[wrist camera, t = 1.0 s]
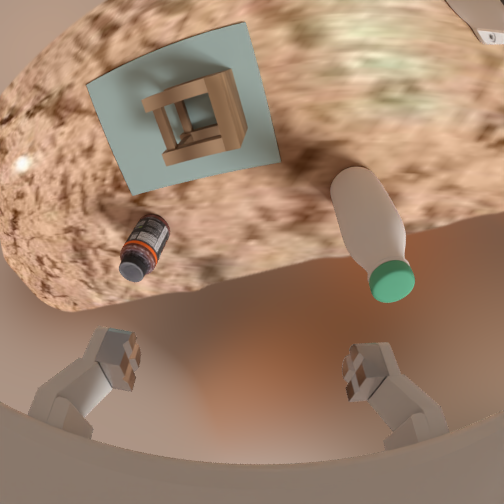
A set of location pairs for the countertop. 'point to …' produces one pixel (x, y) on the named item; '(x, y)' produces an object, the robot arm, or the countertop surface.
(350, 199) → the milk bottle
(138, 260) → the supplement bottle
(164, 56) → the mat
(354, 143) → the countertop surface
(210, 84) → the open wooden box
